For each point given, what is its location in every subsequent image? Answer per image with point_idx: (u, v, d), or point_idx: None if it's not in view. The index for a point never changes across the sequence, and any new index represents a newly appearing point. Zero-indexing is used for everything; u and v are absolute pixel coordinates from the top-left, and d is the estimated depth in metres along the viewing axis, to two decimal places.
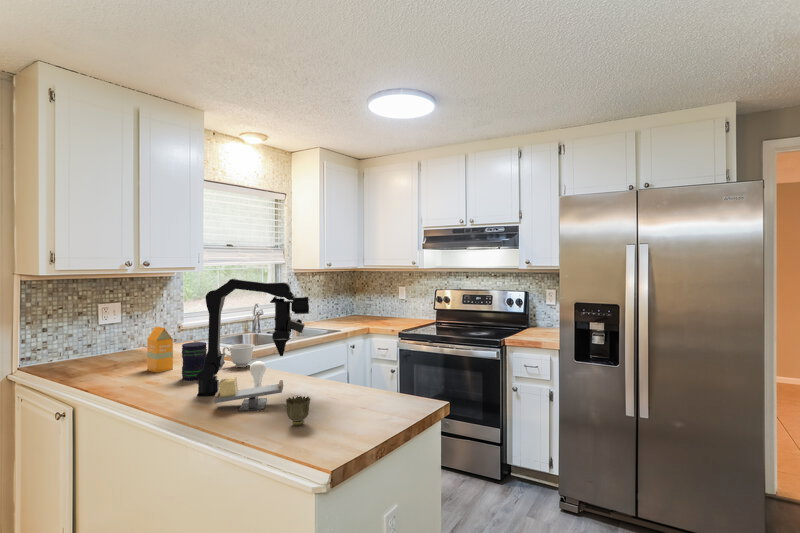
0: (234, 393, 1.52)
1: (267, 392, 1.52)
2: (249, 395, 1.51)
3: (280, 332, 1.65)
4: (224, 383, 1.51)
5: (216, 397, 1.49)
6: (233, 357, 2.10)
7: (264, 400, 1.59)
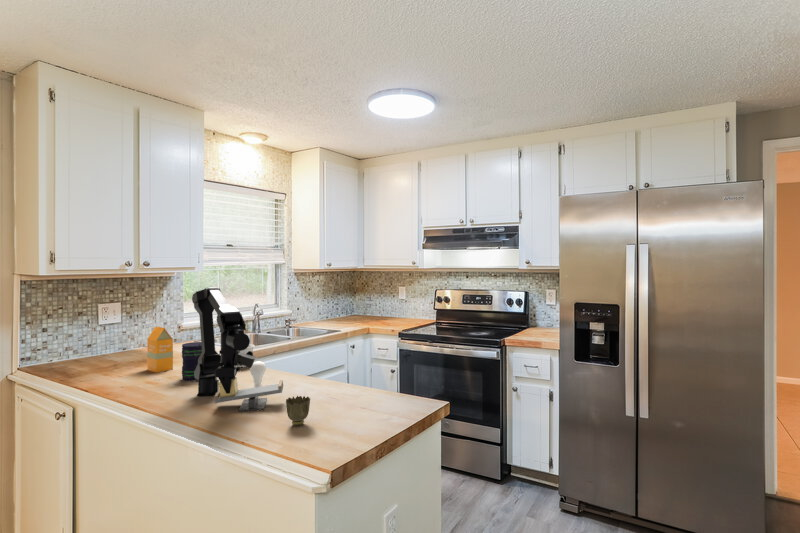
0: (234, 393, 1.52)
1: (267, 392, 1.52)
2: (249, 395, 1.51)
3: (223, 369, 1.45)
4: None
5: (216, 397, 1.49)
6: None
7: (264, 400, 1.59)
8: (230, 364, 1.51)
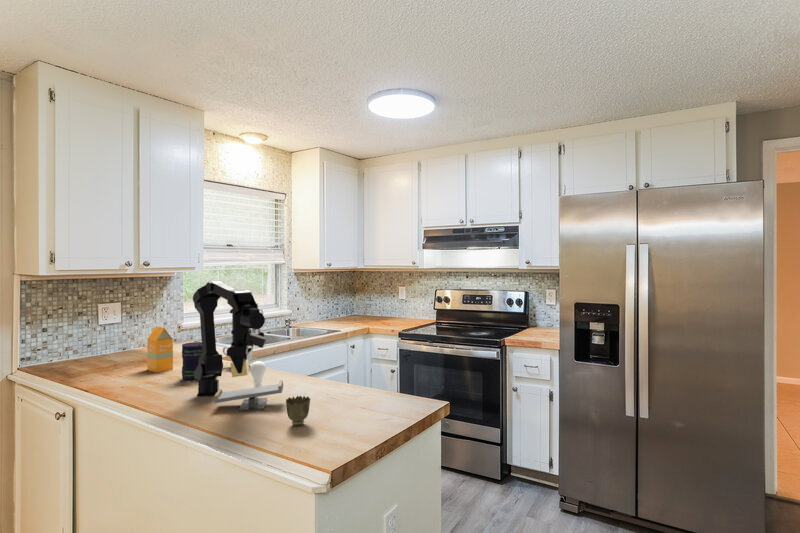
0: (246, 373, 1.52)
1: (267, 392, 1.52)
2: (249, 395, 1.51)
3: (235, 348, 1.45)
4: None
5: (216, 397, 1.49)
6: None
7: (264, 400, 1.59)
8: (242, 344, 1.52)
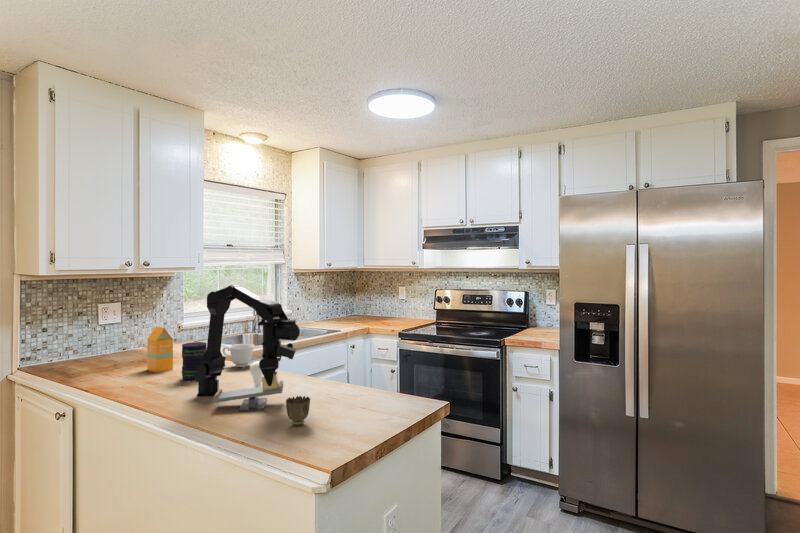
0: (276, 387, 1.54)
1: (267, 392, 1.52)
2: (249, 395, 1.51)
3: (268, 360, 1.47)
4: None
5: (216, 397, 1.49)
6: (233, 357, 2.10)
7: (264, 400, 1.59)
8: (272, 356, 1.54)
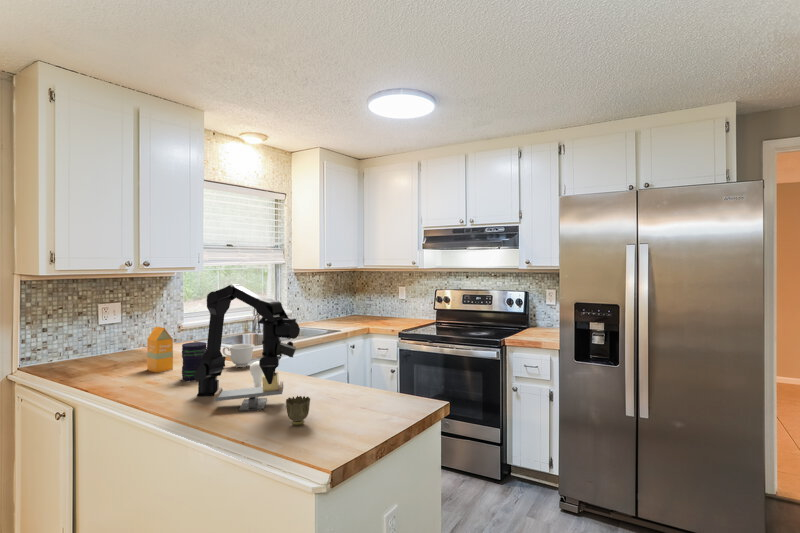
0: (276, 388, 1.54)
1: (267, 393, 1.52)
2: (249, 395, 1.51)
3: (268, 358, 1.47)
4: None
5: (216, 395, 1.49)
6: (233, 357, 2.10)
7: (264, 400, 1.59)
8: (272, 354, 1.54)
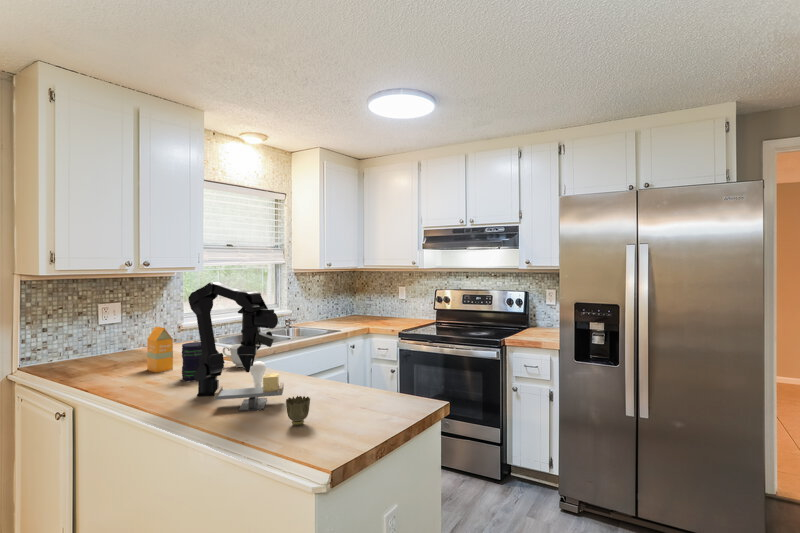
0: (277, 389, 1.54)
1: (267, 393, 1.52)
2: (249, 395, 1.51)
3: (245, 347, 1.52)
4: (268, 378, 1.54)
5: (216, 394, 1.49)
6: (233, 357, 2.10)
7: (264, 400, 1.59)
8: (251, 343, 1.58)
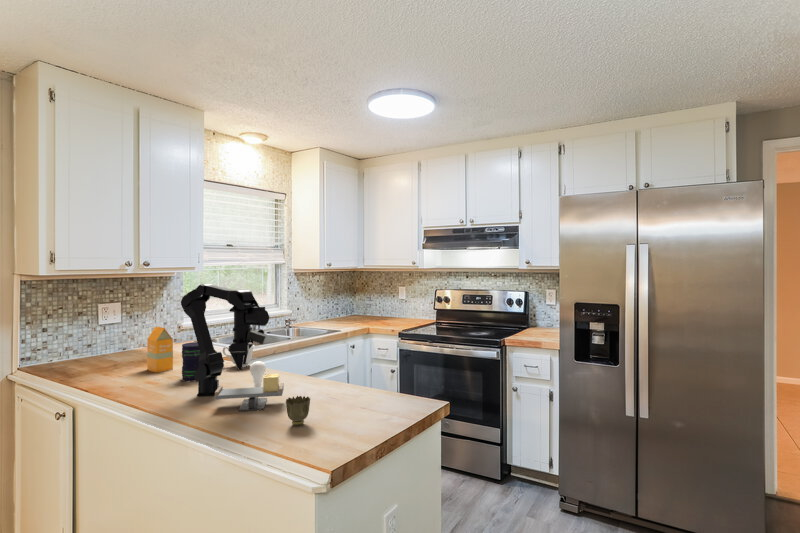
0: (277, 389, 1.54)
1: (267, 394, 1.52)
2: (249, 395, 1.51)
3: (237, 344, 1.53)
4: (268, 378, 1.54)
5: (216, 393, 1.49)
6: None
7: (264, 400, 1.59)
8: (243, 341, 1.60)
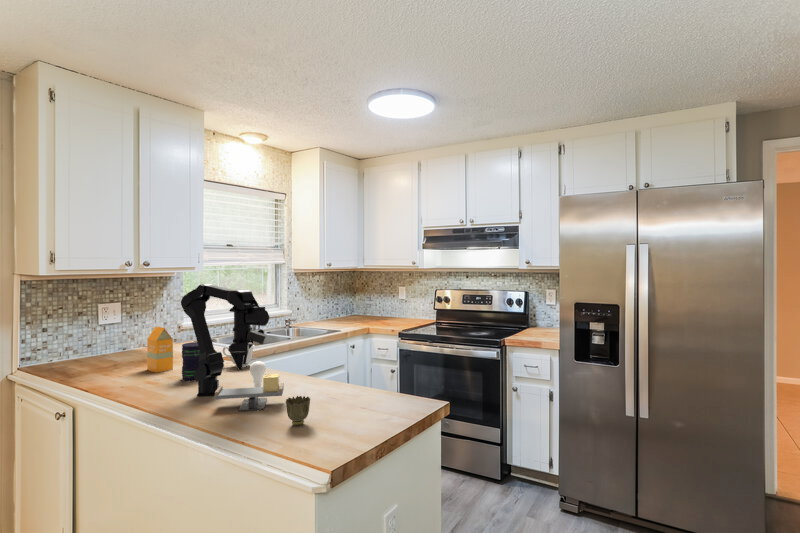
0: (277, 389, 1.54)
1: (267, 394, 1.52)
2: (249, 395, 1.51)
3: (237, 344, 1.53)
4: (268, 378, 1.54)
5: (216, 393, 1.49)
6: None
7: (264, 400, 1.59)
8: (243, 341, 1.60)
